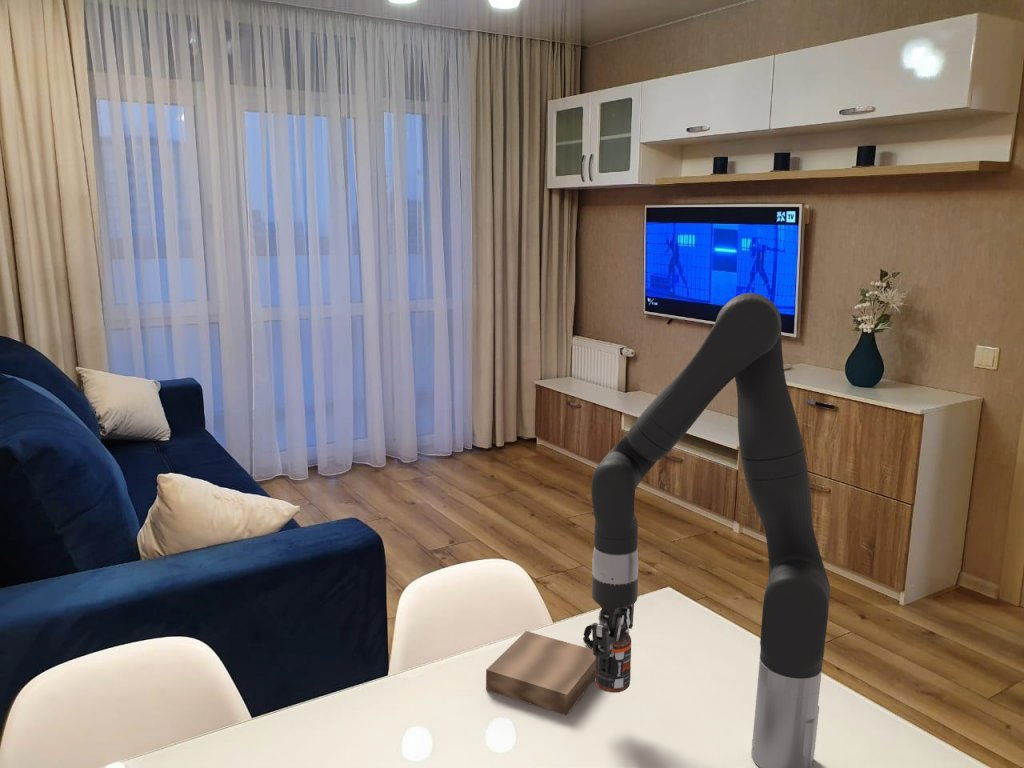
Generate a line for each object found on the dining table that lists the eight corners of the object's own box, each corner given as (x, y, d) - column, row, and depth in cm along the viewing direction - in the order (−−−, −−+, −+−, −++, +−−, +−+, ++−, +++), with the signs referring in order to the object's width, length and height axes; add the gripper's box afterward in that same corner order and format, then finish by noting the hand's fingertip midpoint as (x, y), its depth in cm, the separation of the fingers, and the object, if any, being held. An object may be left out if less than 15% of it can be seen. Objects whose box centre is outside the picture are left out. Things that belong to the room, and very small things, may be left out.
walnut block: (600, 671, 156) (601, 651, 155) (566, 715, 142) (567, 694, 141) (525, 649, 163) (526, 630, 162) (485, 689, 149) (486, 669, 149)
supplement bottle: (629, 696, 136) (630, 633, 133) (593, 692, 137) (594, 630, 134) (631, 676, 141) (632, 616, 139) (596, 673, 143) (597, 613, 140)
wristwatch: (590, 655, 164) (604, 645, 161) (578, 632, 166) (592, 621, 163) (600, 652, 166) (614, 641, 163) (588, 628, 168) (602, 618, 166)
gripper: (621, 594, 127) (619, 692, 130) (650, 560, 140) (648, 651, 143) (576, 585, 130) (575, 681, 134) (609, 552, 143) (607, 641, 146)
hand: (613, 665), depth 138 cm, fingers closed on supplement bottle, 6 cm apart
